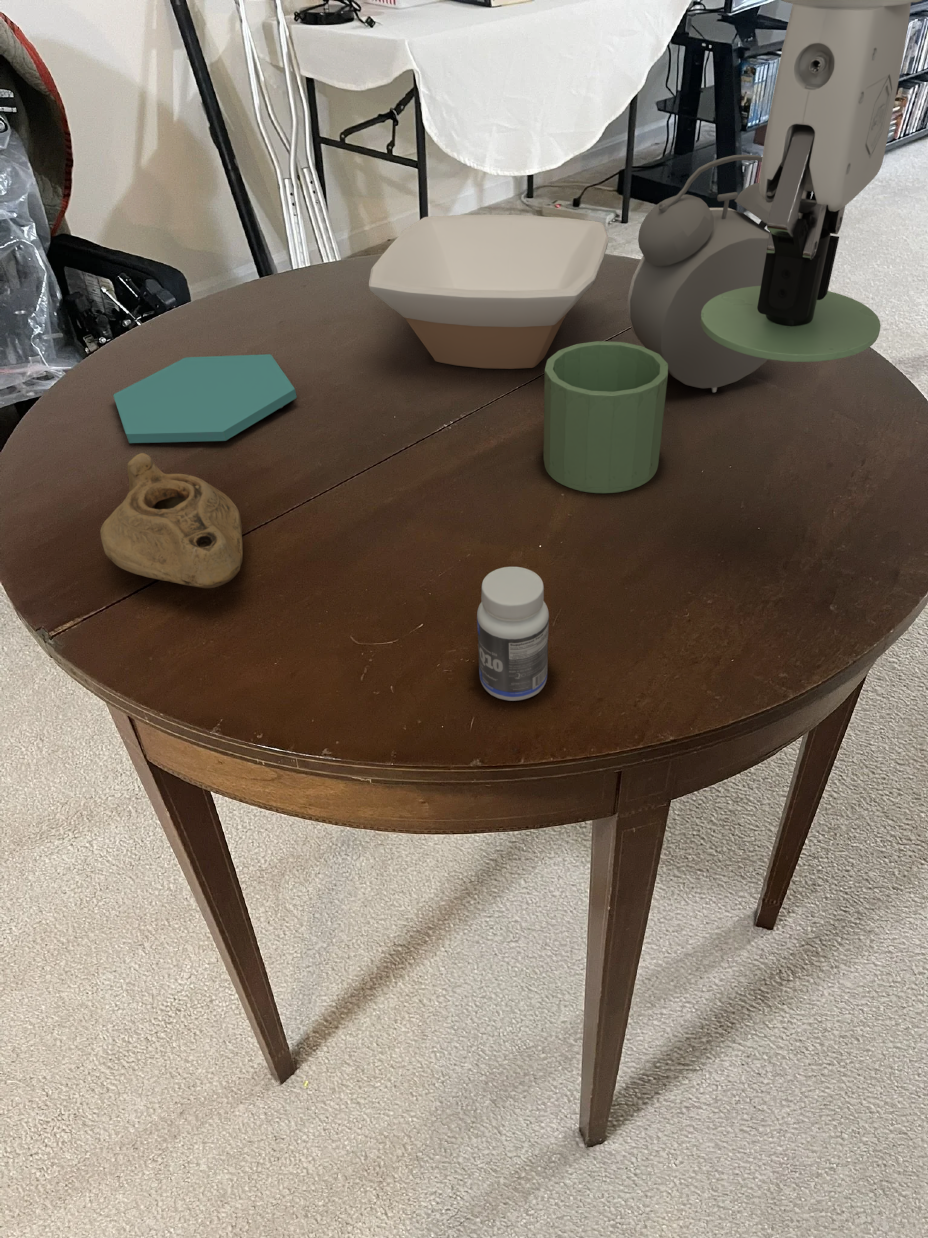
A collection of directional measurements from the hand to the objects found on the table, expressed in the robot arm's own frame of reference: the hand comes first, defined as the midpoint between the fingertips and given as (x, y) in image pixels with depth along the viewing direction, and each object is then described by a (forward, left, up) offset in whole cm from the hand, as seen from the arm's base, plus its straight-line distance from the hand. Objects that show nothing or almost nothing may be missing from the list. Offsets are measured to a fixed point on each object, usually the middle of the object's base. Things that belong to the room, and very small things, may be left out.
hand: (792, 302), depth 61 cm
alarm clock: (-16, -26, -21) cm, 37 cm away
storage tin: (+2, -18, -21) cm, 27 cm away
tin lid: (0, 0, -2) cm, 2 cm away
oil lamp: (+39, -21, -21) cm, 49 cm away
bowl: (-2, -46, -21) cm, 50 cm away
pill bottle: (+23, +3, -21) cm, 31 cm away
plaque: (+31, -49, -21) cm, 61 cm away
